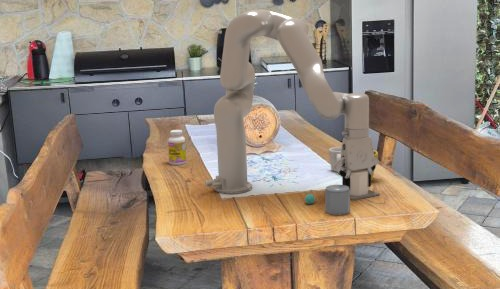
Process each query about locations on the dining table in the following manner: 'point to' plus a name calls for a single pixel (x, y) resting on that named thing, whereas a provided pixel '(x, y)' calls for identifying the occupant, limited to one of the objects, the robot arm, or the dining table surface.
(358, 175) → the beaker
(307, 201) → the ball
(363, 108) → the robot arm
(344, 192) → the beaker
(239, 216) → the dining table surface
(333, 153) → the cup
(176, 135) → the supplement bottle
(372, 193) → the coaster
